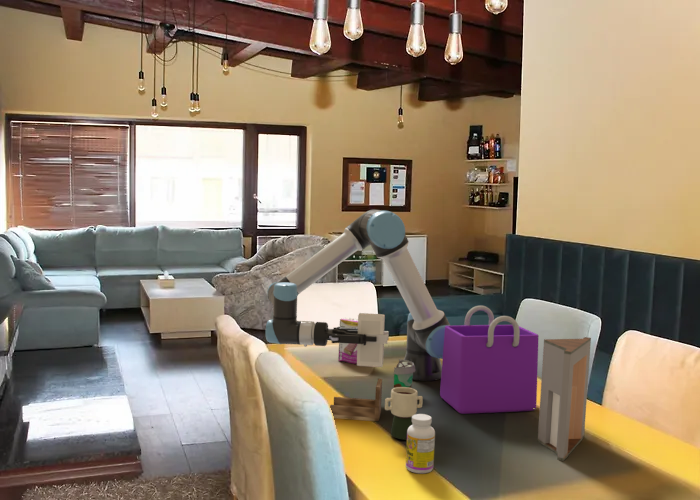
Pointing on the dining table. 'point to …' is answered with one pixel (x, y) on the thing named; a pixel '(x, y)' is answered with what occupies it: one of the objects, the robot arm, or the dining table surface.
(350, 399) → the wooden holder
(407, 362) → the food container
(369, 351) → the white rectangular box
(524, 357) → the shopping bag
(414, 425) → the supplement bottle
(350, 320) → the candy bar box
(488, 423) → the dining table surface
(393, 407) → the character mug
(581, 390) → the grey tall angular block
